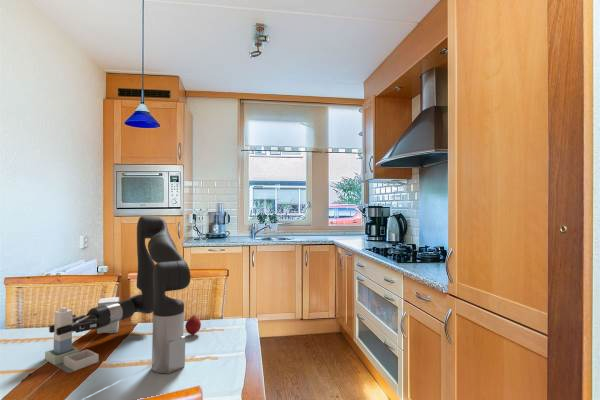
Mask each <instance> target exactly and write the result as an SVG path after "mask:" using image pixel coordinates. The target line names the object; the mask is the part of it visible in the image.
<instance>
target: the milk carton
mask: <svg viewBox="0 0 600 400" xmlns="http://www.w3.org/2000/svg"><path fill="white" fill-rule="evenodd" d="M72 315H73V309H69V308H68V307H64V306H61V307H60V308H59V310H56V311H55V310H54V315H53V317H54V318H53V319H54V320H53V323H54V324H53V325H54V332H53V349H54V352H56V353H59V354H61V353H63V352H66V351H69V350H72V346H73V345H72V344H73V332H68V333H65V334H61V335H57V334H56V329H57V328H60V327H63V326H67V325H70V324H72Z"/></svg>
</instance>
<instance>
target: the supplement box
mask: <svg viewBox="0 0 600 400" xmlns="http://www.w3.org/2000/svg"><path fill="white" fill-rule="evenodd" d="M116 302H120V296H114V297H104V298H102V297H101V298H99V299H98V302H97V307H99V306H103V305H106V304H110V303H116ZM119 323H120V321H118V322H116V323H114V324H111V325H108V326H105V327H102V328H98V329H96V334H103V333H104V334H105V333H107V334H116V333H118V332H119V325H120V324H119Z"/></svg>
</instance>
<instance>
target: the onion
mask: <svg viewBox="0 0 600 400" xmlns="http://www.w3.org/2000/svg"><path fill="white" fill-rule="evenodd" d="M201 326H202V324H201V320H200V319H199V318H198V317H196V314H192V315H191V317H189V318H188V320H187V321H186V323H185V325H184V327H185V331H186V332H187V333H188V335H191V336H194V335H196V334H197V333H198V332H199V331H200V329H201Z"/></svg>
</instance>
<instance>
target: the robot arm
mask: <svg viewBox="0 0 600 400" xmlns="http://www.w3.org/2000/svg"><path fill="white" fill-rule="evenodd" d="M136 223H137V225H136V254H137V274H136V275H137V276H136V288H137V290H140V292H141V294H140V293H139V294H134V295H132V296H131V297H129V298H127V299H124V300H119V302H116V303H110V304H106V305H103V306H99V307H98V306H96V307H93V308H90V309H89V310H88V311H87V314H81V315H79V316H78V315H76V314H72V324H70V325H67V326H63V327H60V328H57V329H56V334H57V335H61V334H65V333H68V332H72V333H76V334H77V333H82V332H86V331H92V330H97V329H98V328H102V327H105V326H108V325H111V324H114V323H116V322H118V321H119V322H121V321H124V320H126V319H129V318H131V317H133V316H134V313H140V314H141V313H142V314H147V315H149V314H152V338H151V339H152V340H151V341H152V344H151V345H152V346H151V351H152V352H151V370H152V372H153V373H157V374H168V375H169V374H171V373H173V372H176V371H177V370H179V369H182V368H184V367H185V364H186V362H185V361H186V336H185V335H184V331H185V330H184V327H185V325H184V324H185V303H184V302H183V301H182V300H181V299H178V298H172V297H169V296H168V295H166V292H172V291H180V290H184V289H186V288H188V286H189V285H190V283H191V276H192V274H191V271H190V267H189V265H188V263H187V262H186V260H185V259H184V257H183V256H182V255H181V254H180V253H179V250H178V249H177V247H176V243H175V242H174V240H173V239H172V237H171V235H170V234H171V233H170V232H169V230H168V225H167V222H166V220H165V219H164V218H163V217H159V216H145V215H144V216H140V217H138V220H137V222H136ZM146 239H149V241H148V242H147V244H146ZM48 330H49V331H48V332H49V333H51V334H52V333H53V334H54V324H52V325H51V324H50V325H49V328H48Z"/></svg>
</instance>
